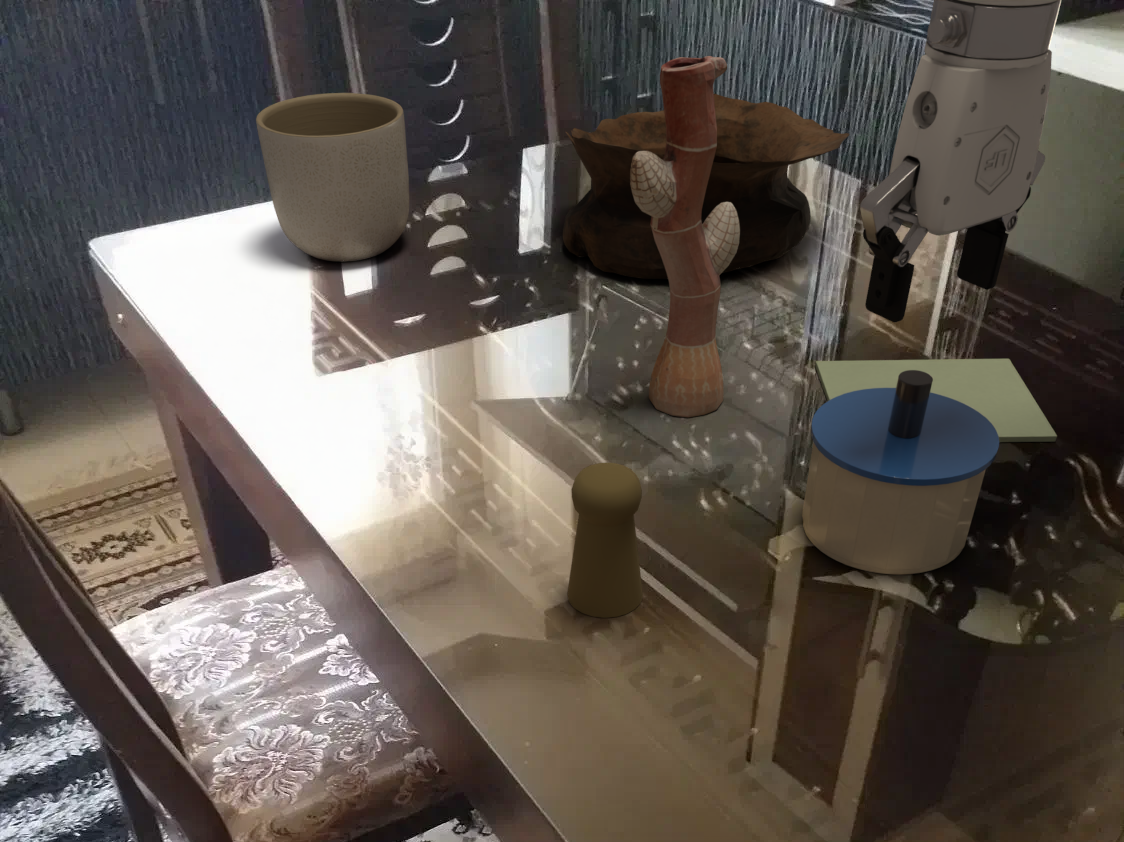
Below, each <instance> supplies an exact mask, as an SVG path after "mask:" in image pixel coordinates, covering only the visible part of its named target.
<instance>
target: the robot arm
mask: <svg viewBox="0 0 1124 842" xmlns="http://www.w3.org/2000/svg"><path fill="white" fill-rule="evenodd" d="M1061 4H1062V0H933V3H932V7H931V8H932V9H931V14H930V19H929V23H928V27H927V33H926V41H925V45H924V54H923V55H921V56H920V59H919V63H918V65H917V68H916V70H915V74H914V77H913V80H912V83H911V86H910V88H909V89H910V90H909V93H908V96H907V99H906V103H905V107H904V110H903V114H902V117H901V121H900V125H899V129H898V131H897V132H898V133H897V137H896V141H895V145H894V150H893V154H892V158H891V163H890V167H889V173H888V175H887V176H886V177H885V178H884V179H883V180H882V181H881V182H880V183H878V185H877V186H876V187H874V188H873V189H872V190H871V191H870V192H869V193H868V194H867V195H866V196H865V197H864V198H863V199H862V200H861V202H860V205H859V212H860V216H861V222H862V227H863V232H862V238H863V239H864V242H866V244H867V245H868V253H869V255H870V256H873V260H872V265H871V271H870V277H869V282H868V287H867V292H866V297H865V305H864V306H865V309H866V310H867V311H868V312H871V313H873V314H874V315H877V316H879V317H880V318H884V319H886V320H887V321H889V322H892V323H894V324H895V323H898V322H901V321H903V319H904V318H905V315H906V310H907V305H908V300H909V296H910V291H911V287H912V286H911V285H912V281H913V276H914V271H915V264H912V263H911V262H909V261H910V260H911V258H912V257H913V255H914V254H915V253H916V251H917V249H918V248H919V246H920V245H921V244H922V242H923V240H924V238H925V237H926V236H927V235H928V233H929V234H931V235H934V236H937V237H938V236H945V235H950V234H953V233H957V232H959V231H962V230H966V232H965V235H964V236H965V237H964V241H963V246H962V250H961V254H960V258H959V263H958V265H957V270H956V277H957V278H958V279H960V280H962V281H965V282H966V283H969V284H972V285H974V286H977V287H979V288H981V289H982V290H986V291H987V290H991V289H993V288H995V287H996V285H997V280H998V277H999V274H1000V269H1001V266H1002V262H1003V258H1004V254H1005V250H1006V247H1007V242H1008V238H1009V235H1010V234H1009V232H1011V231H1013V230H1014V229H1015V227H1016V226H1017V224H1018V220H1019V216H1018V213H1019V212H1020V210H1021V209H1022V208H1023V206H1024V205H1025V204H1026V202H1027V201H1028V199H1029V198H1030V196H1031V192H1032V188H1031V186H1033V185H1034V183H1035V181H1036V179H1037V177H1038V175H1039V173H1040V172H1041V170H1042V168H1043V166H1044V164H1045V162H1046V155H1045V154H1044V153H1043V152H1041V151H1040V150H1039V148H1040V144H1041V138H1042V135H1043V128H1044V123H1045V117H1046V112H1047V109H1048V100H1049V93H1050V86H1051V74H1052V61H1053V60H1052V58H1053V57H1052V56H1053V51H1052V50H1050V46H1051V42H1052V38H1053V35H1054V32H1055V26H1056V23H1057V19H1058V15H1059V11H1060V6H1061ZM902 226H903V227H905V228H907V229H908V231H907V233H906V234H905V236H904V237H903V239H902V241H901V240H900V238H899V237H898V235H897V233H898V231H899V230H900V228H901V227H902Z"/></svg>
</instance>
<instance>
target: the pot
mask: <svg viewBox="0 0 1124 842" xmlns="http://www.w3.org/2000/svg"><path fill="white" fill-rule="evenodd" d="M812 442H813V441H812ZM986 470H987V468H986V469H985V470H984V471H982V472H981V473H979V474H978V475H975V476H973V477H971V478H968V479H965V480H962V481H959V482H954V483H949V484H942V485H931V486H911V485H899V484H892V483H886V482H881V481H877V480H873V479H869V478H866V477H863V476H860V475H857V474H855V473H852V472H850V471H848V470H845V469H843V468H841V467H840V466H838V465H836V464H835V463H833V462H831V461H830V460H829V459H828V458H826V457H825V456H824V455H823V454H822V453H821V452H820V451H819V450H818V449H817V447H816V446H815V444H814V442H813V443H812V449H811V456H810V461H809V467H808V474H807V480H806V487H805V494H804V500H803V506H802V513H801V516H802V526H803V531H804V532H805V535H806V537H807V538H808V540H809V541H810V542H811V544H812V545H813V546H814V547H815V548H817V550H818V551H820V552H821V553H823V554H824V555H825V556H827V557H829V558H831V559H833V560H834V561H836V562H838V563H841V564H843V565H845V566H848V567H850V568H853V569H858V570H862V571H865V572H869V573H875V574H883V575H913V574H920V573H921V574H922V573H925V572H930V571H934V570H937V569H939V568H942V567H944V566H946V565H948V564H949V563H951V562H952V561H954V560H955V559H956V558H957V557H958V556H959V555H960V554H961V553H962V551H963V550H964V548H965V546H966V542H967V539H968V535H969V532H970V528H971V525H972V520H973V517H974V513H975V510H976V506H977V502H978V499H979V496H980V491H981V489H982V485H983V482H984V478H985V473H986Z"/></svg>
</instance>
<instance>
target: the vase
mask: <svg viewBox="0 0 1124 842" xmlns="http://www.w3.org/2000/svg"><path fill="white" fill-rule="evenodd" d="M727 70H728V64H727V61H726V60H725V58H723V57H720V56H718V57H717V56H716V57H714V56H712V55H705V56H703V57H682V56H681V57H677V58H673V59H670V60H668V61H666V62H665V63H663V64H662V65H661V67H660V74H659V85H660V90H661V96H662V105H663V110H664V114H665V121H666V148H665V155H664V157H663V159H661V158H659V157H658V156H657V155H655V154H654V153H652V152H649V151H638V152H637V153H636V154H635V155H634V156H633V159H632V163H631V171H630V185H631V189H632V194H633V197H634V200H635V203H636V204H637V205H638V207H639V208H640V209H641V211H643V212H645V213H646V214H648V215H650V216H651V223H650V224H651V228H652V232H653V235H654V239H655V242H656V245H657V247H658V250H659V252H660V255H661V257H662V260H663V263H664V266H665V269H666V273H667V276H668V279H667V280H668V285H669V310H668V322H667V328H666V333H665V338H664V340H663V342H662V345H661V347H660V350H659V352H658V355H657V358H656V360H655V363H654V365H653V369H652V372H651V375H650V379H649V386H648V399H649V400H650V402H651V404H652V405H653V406H654V408H655V409H656V410H657V411H659V412H662V413H664V414H666V415H668V416H671V417H679V418H680V417H681V418H692V417H693V418H694V417H700V416H705V415H707V414H711V413H713V412H715V411H716V410H718V408H719V407H720V406H721V404H722V403H723V402H724V377H723V371H722V370H723V369H722V364H721V359H720V355H719V350H718V345H717V340H716V336H717V335H716V332H717V318H718V312H719V311H718V310H719V304H720V300H721V291H722V289H721V288H722V285H721V278H720V275H721V274H723V273H724V272H723V271H724V270H725V269H726V268H727V267H728V266H729V264H730V263H731V261H732V259H733V258H734V256H735V254H736V252H737V249H738V245H739V238H740V225H739V219H738V215H737V211H736V209H735V207H734V206H733V204H732V203H731V202H723V203H720V204H719V205H718V206H717V207H715V209H714V210H713V211H712V212H711V213H710V214H709V216H708V217H707V218H706V220H705V221H704V223H703V224H702V221H701V212H702V206H703V201H704V197H705V192H706V188H707V184H708V180H709V176H710V172H711V168H712V164H713V160H714V156H715V152H716V148H717V126H716V115H715V104H714V94H715V93H714V84H715V80H716V79H717V78H719V77H721V76H722V75H723V74H724V73H726V71H727ZM722 272H723V273H722Z"/></svg>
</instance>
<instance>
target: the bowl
mask: <svg viewBox="0 0 1124 842" xmlns="http://www.w3.org/2000/svg"><path fill="white" fill-rule="evenodd" d="M714 104H715V115H716V126H717V148H716V152H715V156H714V160H713V164H712V168H711V172H710V176H709V180H708V184H707V188H706V192H705V197H704V201H703V206H702V212H701V221H702V224H703V223H704V221H705V220H706V218H707V217H708V216H709V214H710V213H711V212H712V211H713V210H714V209H715V207H717V206H718V205H719V204H720V203H723V202H731V203H732V204H733V206H734V207H735V209H736V211H737V215H738V219H739V225H740V238H739V245H738V249H737V252H736V254H735V256H734V258H733V259H732V261H731V263H730V264H729V266H728V267H727V268H726V269H725V270H724V271H723V272H722V273H721V274H723V273H728V272H732V271H736V270H739V269H745V268H750V267H753V266H756V265H758V264H761V263H765V262H768V261H774V260H777V259H780V258H782V257H783V256H784V255H785V254H787V253H789V252H790V251H791V250H793V249H794V248H796V247H797V246H799V244H801V242H802V241H803V239H804V238H805V237H806V234H807V233H808V231H809V229H810V225H811V218H812V217H811V207H810V202H809V199H808V198H807V195H806V193H804V192H802V191H801V190H800V189H799V188H798V187H797V186H795V185H794V184H793V183H792V181H791V180H790V178H789V176H788V172H789V166H790V165H795V164H798V163H800V162H804V161H807V160H809V159H812V158H817V157H820V156H822V155H825V154H828V153H830V152H832V151H834V150H837V149H840V147H841V145H842V143H843V142H844V141H845V140H846V139H847V138H848V137H849V136H850V135H851V134H850V132H845V133H838V132H834V130H833V129H831V128H827V127H825V126H823V125H821V124H819V123H818V122H817V121H816V120H815V119H812V118H803V116H801V115H799V114H798V113H796V112H795V111H794V110H792V109H791V108H789V107H787V106H781V105H778V104H777V103H774V102H770V101H762V102H751V101H748V100H743V99H739V98H732V97H728V96H724V95H720V94H717V93H714ZM570 132H571V135H570V133H569V132H568V131H565V133H566V135H567V137H568V138H569V140H570V142H571V144H572V146H573V148H574V150H575V152H576V155H577V156H578V158H579V159H580V161H581V162H582V164H583V166H584V168H585V170H586V172H587V174H588V176H589V178H590V189H589V190H588V191H587V192H586V193H585V195H584V196H583V197H582V198H581V199H580V200H579V202H578V203H577V204H576V205H574V206H573V207H572V208H571V209H569V211H568V212H567V213H566V215H565V218H564V223H563V227H562V240H563V244H564V247H565V248H566V249H567V250H568V252H569V253H571V254H573V255H574V256H576V257H578V258H586V257H588V259H589V260H590V262H592V264H593V266H594V267H596V268H597V269H599V270H601V271H602V272H607V273H612V274H613V273H614V274H616V275H619V276H626V277H629V278H635V279H636V278H637V279H642V280H668V276H667V273H666V269H665V266H664V263H663V260H662V257H661V255H660V252H659V250H658V247H657V245H656V242H655V239H654V235H653V232H652V228H651V224H650V223H651V216H650V215H648V214H646V213H645V212H643V211H641V209H640V208H639V207H638V205H637V204H636V203H635V200H634V197H633V194H632V189H631V185H630V171H631V163H632V159H633V156H634V155H635V154H636V153H637V152H638V151H649V152H652V153H654V154H655V155H657V156H658V157H659V158H661V159H663V157H664V155H665V148H666V121H665V114H664V109H663V110H659V111H654V112H651V111H642V112H640V111H637V112H631V113H627V114H622V115H620V116H618V117H617V118H615V119H614V118H605V119H601V121H600V123H599V124H598V126H597V127H596V129H595V131H592V132H588V131H585V130H582V129H579V128H576V127H573V129H572V130H570Z"/></svg>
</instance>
